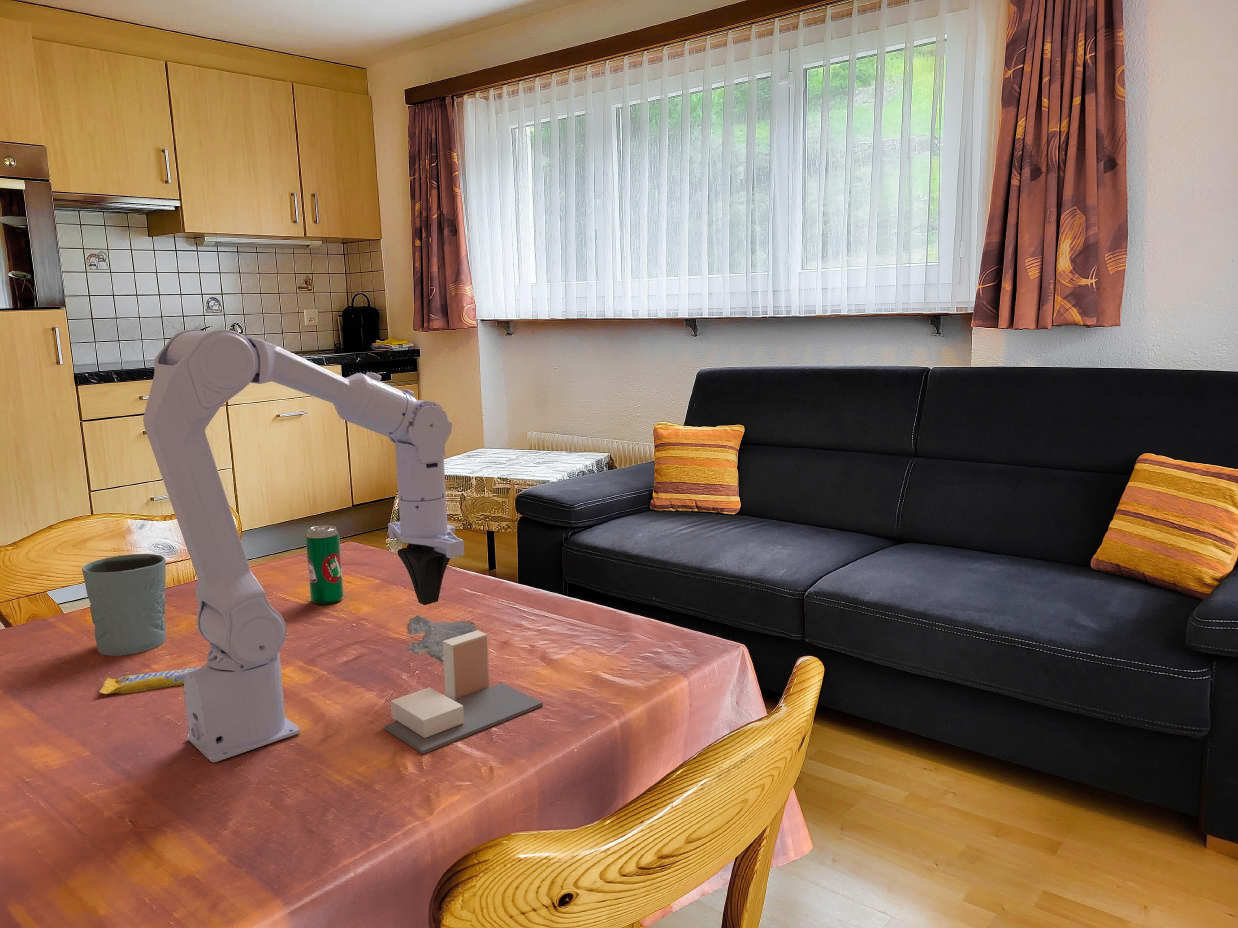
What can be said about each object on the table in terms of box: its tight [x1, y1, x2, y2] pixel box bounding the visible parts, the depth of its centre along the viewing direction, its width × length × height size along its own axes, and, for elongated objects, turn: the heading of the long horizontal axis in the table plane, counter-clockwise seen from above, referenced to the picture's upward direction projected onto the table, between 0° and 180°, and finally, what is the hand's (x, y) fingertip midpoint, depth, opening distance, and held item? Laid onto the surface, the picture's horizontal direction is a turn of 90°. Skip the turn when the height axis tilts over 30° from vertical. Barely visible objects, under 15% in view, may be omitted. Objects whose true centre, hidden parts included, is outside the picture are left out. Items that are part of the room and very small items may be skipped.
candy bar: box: [98, 666, 201, 695], centre depth 112 cm, size 17×4×2 cm, turn 110°
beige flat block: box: [390, 687, 464, 738], centre depth 99 cm, size 5×2×7 cm
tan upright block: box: [443, 629, 491, 700], centre depth 106 cm, size 5×2×7 cm, turn 134°
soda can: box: [305, 524, 344, 606], centre depth 142 cm, size 5×5×12 cm
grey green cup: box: [81, 553, 167, 657], centre depth 124 cm, size 10×10×12 cm
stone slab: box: [405, 615, 476, 666], centre depth 124 cm, size 18×2×10 cm
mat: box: [383, 682, 544, 755], centre depth 100 cm, size 16×8×1 cm, turn 134°
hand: (428, 602), depth 111 cm, fingers closed
